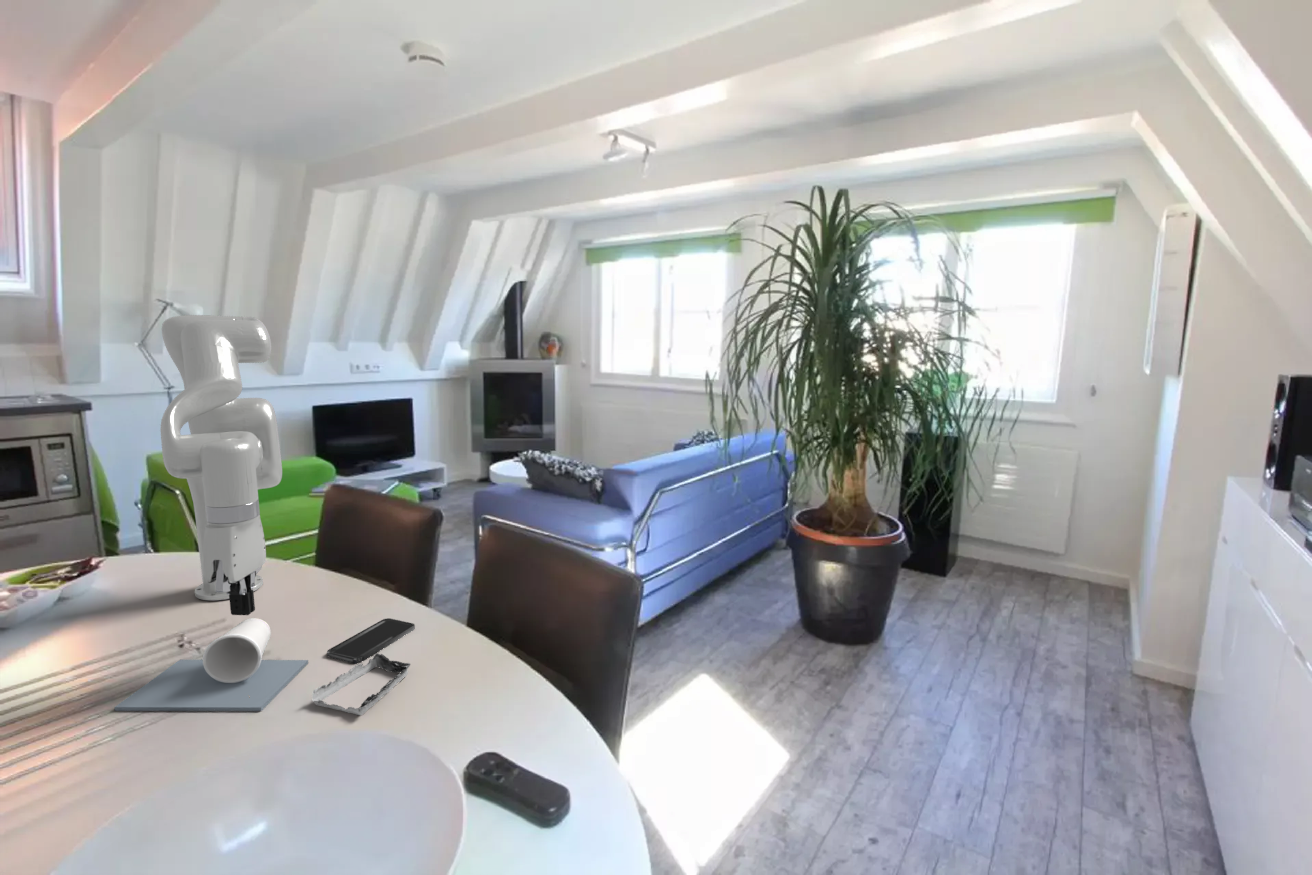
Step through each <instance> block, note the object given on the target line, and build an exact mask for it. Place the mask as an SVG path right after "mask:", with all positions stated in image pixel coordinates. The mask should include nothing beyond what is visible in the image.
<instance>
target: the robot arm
mask: <svg viewBox="0 0 1312 875" xmlns="http://www.w3.org/2000/svg"><path fill="white" fill-rule="evenodd" d="M161 335H162V340H163V343H164V346H165V348H166V351H167V352H168V356H170V358H171V360H172V362H173V364H174V365H175V367H176V369H177V370H178V372H179V374H180V376H181V379H182V382H183V383H182V384H183V390H182V391H181V392H180V393H178V394H177V395H176V396H175V397H174V398H173V399H172V400H171V402H170V403H169V404H168V405H167V407H166V409H165V410H164V413H163V415H162V418H161V419H160V420H161V421H160V430H159V431H160V440H161V451H162V452H161V453H162V454H161V455H162V460H163V464H164V468H165V469H166V471H167V473H168V474H169V475H171V477H174V478H177V479H186V482H187V484H188V487H189V491H190V494H191V495H190V496H191V499H192V502H193V511H194V517H195V518H194V519H195V525H196V526H195V527H196V533H197V543H198V545H197V546H198V553H199V561H200V563H199V564H200V570H201V571H200V572H201V581H202V582H201V583H200V584H198V586H196V588H195V589H194V596H195V597H196V598H197V599H198V600H199V599H200V600H203V601H223V600H224V601H225V600H229V607H230V614H231V615H232V616H250V614H251V613H253V612H255V610H256V606H255V595H254V594H255V593H254V592H255V591H257V590H259V589H260V588H261V587H262V586H263V583H264V580H263V579H264V578H263V577H262V576H261V575H259V574H258V573H259V572H260V571H261V570H262V567H263V565H264V564H266V562H267V561H266V560H267V550H266V549H267V547H266V539H265V533H264V527H263V524H262V519H261V515H260V514H261V511H260V502H259V501H260V500H259V490H262V489H263V490H264V489H270V488H274V487H276V486H278V485H280V483H281V481H282V478H283V464H282V456H281V446H280V438H279V427H278V422H277V415H276V411H275V409H274V407H273V406H274V405H272V403H271V402H270V401H269V400H268V399H265V398H261V397H243V398H242V397H239V396H241V393H242V390H243V383H242V377H241V373H240V366H239V364H251V363H252V364H254V363H255V364H257V363H259V364H261V363H265V362H267V361H268V360H269V359H270V357H271V354H272V340H271V336H270V333H269V331H268V329H267V327H266V325H265V324H264V323H263V321H261V320H260V319H258V318H257V317H255V316H233V315H212V314H211V315H203V314H198V315H197V314H191V315H190V314H188V315H187V314H186V315H185V314H184V315H176V316H172V317H169V318H167V319H165V320H164V321H163V323H162V326H161ZM238 397H239V398H238ZM187 423H188V429H189V433H190V434H181V429H182V428H183V427H184V426H185V425H186V424H187Z"/></svg>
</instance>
